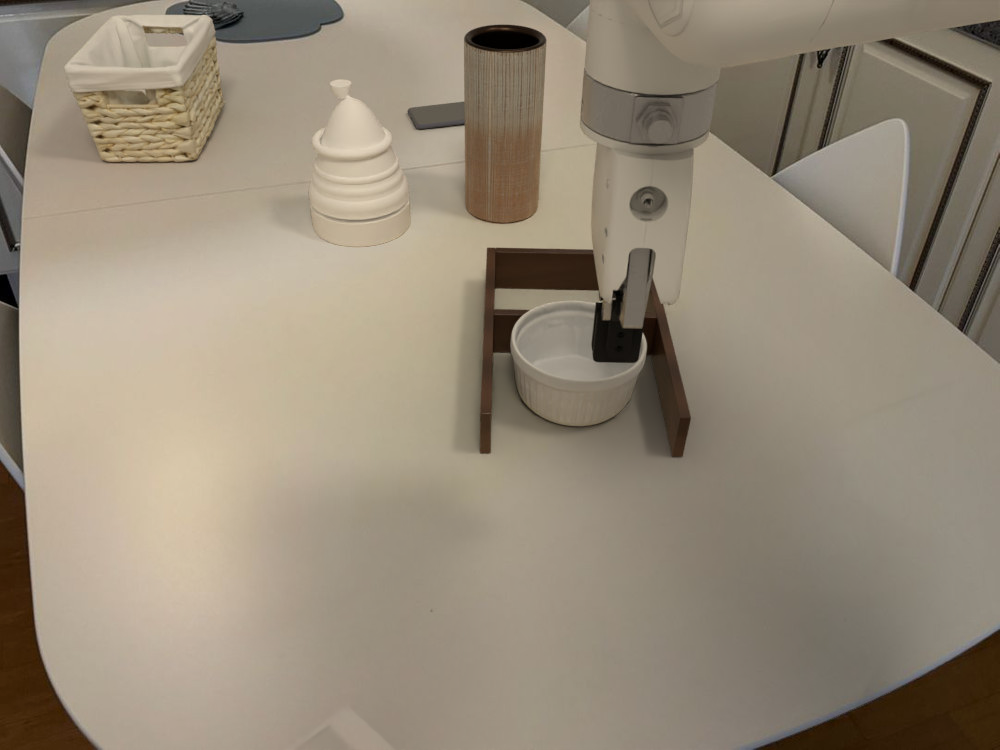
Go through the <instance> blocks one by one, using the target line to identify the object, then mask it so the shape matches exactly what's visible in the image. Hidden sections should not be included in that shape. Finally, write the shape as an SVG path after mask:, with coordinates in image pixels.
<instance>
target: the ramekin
mask: <svg viewBox="0 0 1000 750" xmlns="http://www.w3.org/2000/svg"><path fill="white" fill-rule="evenodd" d="M596 303H597V302H592V301H586V300H557V301H552V302H547V303H543V304H540V305H538V306H535V307H533V308H531V309H529V310H530V311H528V312H526V313H525V314H524V315H522V316H521V317H520V318H519V319H518V321H517V322H516V324H515V325H514V327H513V330H512V334H511V343H510V347H511V352H510V353H511V357H512V359H513V370H514V379H515V385H516V388H517V392H518V394H519V396H520V398H521V400H522V401H523V403H524V404H525V405H526V406H527V407H528V408H529V409H530V410H531V411H533V412H534V413H535V414H536V415H537V416H539V417H541V418H542V419H544V420H547V421H549V422H551V423H555V424H558V425H562V426H569V427H588V426H595V425H598V424H601V423H603V422H606V421H608V420H610V419H612V418H614V417H615V416H616V415H618V414H620V413H621V411H622V410H624V408H625V407H626V406H627V404H628V403H630V399H631V397H632V395H633V392H634V389H635V387H636V384H637V382H638V378H639V375H640V373H641V371H642V369H643V368H644V366H645V363H646V358H647V355H646V352H647V342H646V338H645V336H644V334H642V340H641V347H640V353H639V359H638V361H637V362H635V363H605V362H595V361H594V360H593V354H592V353H593V351H592V346H591V343H592V334H593V324H594V315H595V306H596Z"/></svg>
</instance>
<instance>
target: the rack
mask: <svg viewBox="0 0 1000 750" xmlns="http://www.w3.org/2000/svg"><path fill="white" fill-rule="evenodd" d="M485 258H486V259H485V261H486V262H485V284H484V286H485V287H484V307H483V309H484V310H483V331H482V332H483V333H482V356H481V358H482V359H481V381H480V382H481V383H480V384H481V385H480V405H479V406H480V407H479V453H480V454H491V451H492V419H493V418H492V413H493V412H492V411H493V379H494V378H493V377H494V376H493V375H494V371H493V370H494V353H511V347H510V343H511V334H512V330H513V327H514V325H515V324H516V322H517V321H518V319H519V318H520V317H521V316H522V315H524V314H525V313H526V312H528V311H530V310H531V309H515V308H514V309H513V308H512V309H508V308H506V309H505V308H495V296H496V289H520V290H521V289H522V290H525V289H526V290H568V291H573V290H574V291H575V290H576V291H577V290H578V291H599V286H598V280H597V273H596V267H595V260H594V253H593V249H588V248H587V249H583V248H541V247H539V248H535V247H534V248H533V247H531V248H530V247H486V257H485ZM664 305H665V304H661V303H660V300H659V296H658V293H657V290H656V287H655V284H654V281H653V278H652V281H651V287H650V292H649V297H648V302H647V307H646V312H645V321H644V327H643V334H644V336H645V338H646V342H647V352H646V356H650V357H651V361H652V367H653V371H654V375H655V380H656V386H657V390H658V396H659V400H660V404H661V405H660V406H661V409H662V415H663V419H664V423H665V429H666V433H667V438H668V444H669V447H670V452H671V457H672V458H683V457H684V452H685V448H686V443H687V438H688V434H689V429H690V425H691V420H692V415H691V412H690V407H689V403H688V399H687V396H686V391H685V387H684V383H683V379H682V375H681V371H680V367H679V366H680V365H679V363H678V362H679V361H678V359H677V355H676V351H675V346H674V342H673V338H672V335H671V330H670V326H669V322H668V321H669V320H668V317H667V313H666V309H665V306H664Z"/></svg>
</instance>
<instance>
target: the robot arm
mask: <svg viewBox="0 0 1000 750" xmlns="http://www.w3.org/2000/svg"><path fill="white" fill-rule="evenodd" d="M587 17H588V19H587V33H586V45H585V56H584V68H583V77H582V91H581V101H580V102H581V103H580V116H579V128H580V130H581V132H582V133H583V134H584V135H585V136H586V137H587V138H588V139H590V140H591V141H593V142H594V143H596V150H595V156H594V157H595V159H594V168H593V177H592V178H593V180H592V192H591V211H590V212H591V215H590V216H591V217H590V220H591V221H590V226H591V227H590V229H591V230H590V231H591V244H592V250H593V253H594V260H595V267H596V273H597V280H598V286H599V290H598V300H599V301H600V302H595V303H596V306H595V315H594V324H593V334H592V343H591V346H592V351H593V353H592V354H593V360H594V361H595V362H605V363H635V362H637V361H638V359H639V353H640V347H641V340H642V334H643V327H644V321H645V312H646V307H647V302H648V297H649V292H650V287H651V281H652V278H653V281H654V284H655V287H656V290H657V293H658V296H659V300H660V303H661V304H663V305H665V304H666V305H668V306H672V305H674V304H676V302H677V301H678V300H679V298H680V292H681V286H682V279H683V270H684V263H685V255H686V248H687V247H686V246H687V240H688V232H689V224H690V216H691V206H692V194H693V184H694V183H693V181H694V161H695V160H694V156H695V153H694V151H695V150H694V149H696V148H698V147H699V146H701V145H703V144H704V143H705V142H706V141H707V140H708V139H709V135H710V132H711V131H710V130H711V125H712V120H713V113H714V110H715V109H714V108H715V102H716V98H717V92H718V87H719V81H720V75H721V69H722V68H723V69H724V68H732V67H733V68H734V67H738V66H744V65H750V64H755V63H760V62H767V61H772V60H773V61H774V60H777V59H782V58H783V59H784V58H787V57H791V56H796V55H802V54H808V53H812V52H813V53H814V52H818V51H820V52H821V51H826V50H830V49H831V50H832V49H836V48H843V47H848V46H849V47H850V46H855V45H863V44H868V43H874V42H879V41H884V40H890V39H895V38H901V37H907V36H912V35H917V34H923V33H929V32H935V31H941V30H947V29H955V28H958V27H959V28H961V27H966V26H970V25H977V24H983V23H990V22H996V21H1000V0H589V4H588V16H587Z"/></svg>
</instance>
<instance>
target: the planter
mask: <svg viewBox="0 0 1000 750" xmlns="http://www.w3.org/2000/svg"><path fill="white" fill-rule="evenodd" d="M547 41H548V40H547V37H546V36H545V34H543V33H542V31H540V30H537V29H535V28H532V27H528V26H525V25H524V26H523V25H519V24H518V25H516V24H489V25H482V26H479V27H476V28H472V29H471V30H469V31H468V32H467V33H466V34H465V35H464V37H463V87H464V89H463V90H464V93H463V95H464V99H463V100H464V101H463V102H464V109H465V124H464V187H465V188H464V198H465V199H464V200H465V207H466V210H467V211H468V213H470V214H471V215H472V216H473V217H475V218H478V219H480V220H482V221H486V222H491V223H499V224H507V223H516V222H520V221H523V220H526V219H528V218H529V217H532V216H533V215H534V214H535V213H536V212H537V210H538V208H539V207H538V206H539V197H540V196H539V195H540V178H541V177H540V176H541V161H542V159H541V158H542V157H541V156H542V140H543V139H542V138H543V121H544V120H543V119H544V102H545V101H544V99H545V80H546V62H547V61H546V60H547Z"/></svg>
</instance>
